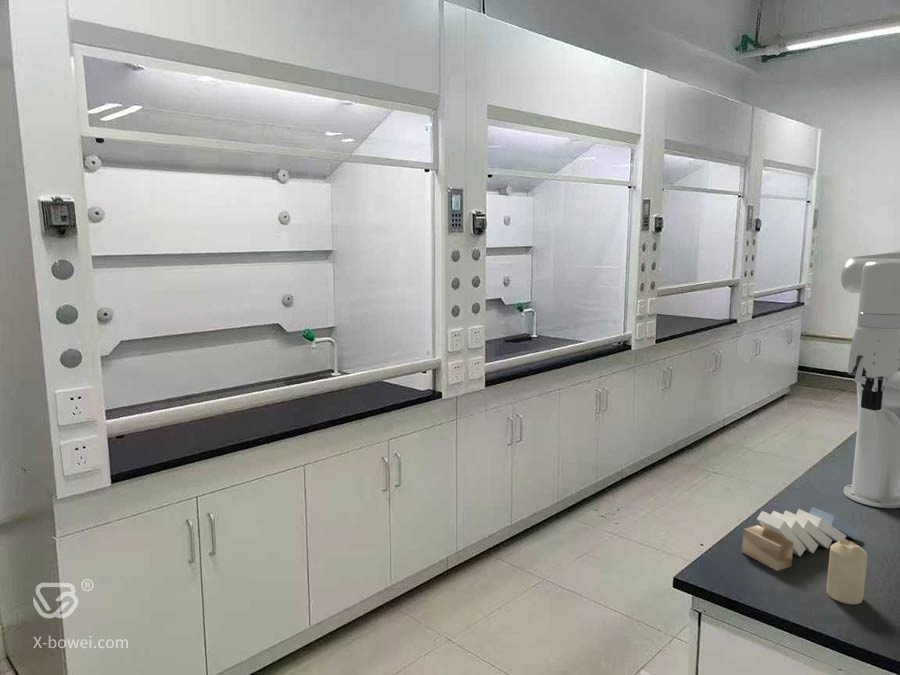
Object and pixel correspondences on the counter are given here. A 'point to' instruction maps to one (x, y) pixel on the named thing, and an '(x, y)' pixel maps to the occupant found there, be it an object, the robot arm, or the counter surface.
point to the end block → (767, 547)
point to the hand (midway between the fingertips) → (870, 408)
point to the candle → (846, 572)
